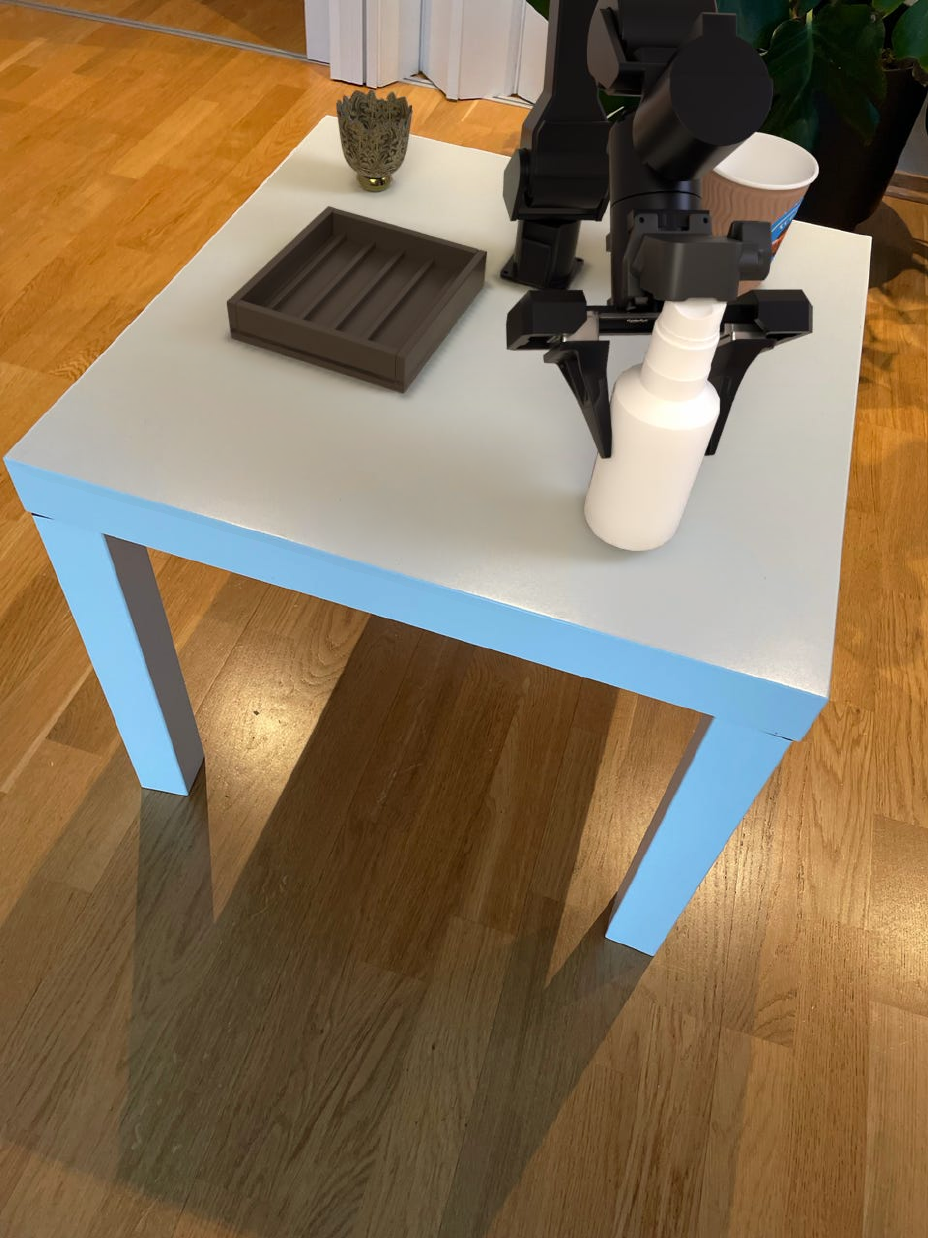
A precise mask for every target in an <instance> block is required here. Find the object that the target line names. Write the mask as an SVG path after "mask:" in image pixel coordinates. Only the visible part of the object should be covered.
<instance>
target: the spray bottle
mask: <svg viewBox="0 0 928 1238" xmlns="http://www.w3.org/2000/svg"><path fill="white" fill-rule="evenodd" d="M726 303H727V301H718V300H716V298H688V299H687V300H686V301H684V302H674V301H665V303H664V306H663V310H662V312H661V314H660V316H659V317H658V319H657V320H656V321H655V325H654V328H653V332H652V335H650V340H649V343H648V346H647V349H646V351H645V352H644V356H643V360H642V362H640V363H636V364H633V365H631V366H630V367H628V368H627V369H625V370H623V371H622V372H620V374H619V376H618V377H617V379H616V380H615V382H614V383H613V387H612V391H611V395H610V398H609V405H610V416H611V427H612V451H611V458H609V459H602V458H601V457H600V454H599V452H598V450H597V452H596V455H595V458H594V459H595V460H594V464H593V468H592V472H591V476H590V479H589V485H588V488H587V491H586V497H585V500H584V506H583V514H584V517H585V520H586V524H587V525H588V527H589V529H590V530H591V531H592V532H593V534H594V535H595V536H597V537H598V538H599V539H601V540H602V541H603V542H604V543H606V544H609V545H611V546H614V547H616V548H618V549H621V550H627V551H632V552H641V551H644V552H645V551H651V550H654V549H657V548H660V547H662V546H663V545H664V544H666V543H667V542H668V541H670V540H671V539H672V538H673V537H674V535H675V533H676V532H677V530H678V527H679V524H680V522H681V520H682V518H683V517H682V516H683V514H684V512H685V509H686V505H687V503H688V500H689V498H690V495H691V492H692V489H693V486H694V484H695V482H696V478H697V476H698V473H699V470H700V467H701V464H702V461H703V459H704V457H705V456H704V454H705V451H706V448H707V446H708V443H709V440H710V437H711V435H712V432H713V429H714V427H715V424H716V421H717V418H718V416H719V412H720V398H719V396H718V394H717V392H716V390H715V388H714V386H713V385H712V384H711V383H710V382H709V381H708V380H707V378H708V375H709V372H710V369H711V362H712V359H713V356H714V353H715V350H716V347H717V344H718V341H719V328H720V323H721V320H722V317H723V314H724V311H725V308H726Z"/></svg>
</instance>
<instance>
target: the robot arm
mask: <svg viewBox="0 0 928 1238" xmlns="http://www.w3.org/2000/svg"><path fill="white" fill-rule="evenodd" d="M717 5H718V4H717V0H549V13H548V24H547V38H546V49H545V50H546V51H545V65H544V76H543V77H544V78H543V87H542V88H543V89H542V91H541V93H540V94H539V96H538V98H537V99H536V101H535V102H534V103H533V106H532V107H531V109H530V111H529V112H528V114H527V115H526V117H525V118H524V120H523V122H522V124H521V129H520V130H521V132H520V141H519V148H515V149H514V151H513V153H512V155H511V157H510V158H509V161H508V163H507V164H506V167H505V168H504V170H503V179H502V183H503V184H502V199H503V202H504V205H505V209H506V212H507V215H508V218H509V221H510V222H517V227H516V236H515V243H514V252H513V253H512V255H511V256H510V257H509V259H508V260H507V262H506V263H505V264H504V266H503V267H502V268H501V269H500V271H499V277H500V279H502V280H505V281H510V282H513V283H515V284H520V285H523V286H526V287H529V288H533V289H528V290H527V292H525V294H524V295H523V296H522V297H521V298H520V299H519V300H518V301H517V302H516V304H514V306H513V307H512V308H510V310H508V312H507V313H506V321H505V337H506V338H505V340H506V341H505V342H506V350H508V351H513V352H514V351H515V352H516V351H517V352H520V351H521V352H522V351H547V352H545V353H544V354H543V355H542V357H543V358H542V359H543V363H544V364H552V365H553V364H554V365H556V366H557V367H558V369H559V371H560V373H561V375H562V377H563V378H564V380H565V382H566V384H567V385H568V387H569V389H570V390H571V392H572V395H573V396H574V398H575V400H576V402H577V404H578V407H579V408H580V411H581V414H582V415H583V418H584V420H585V422H586V425H587V428H588V430H589V433H590V435H591V437H592V440H593V443H594V444H595V447H596V450H597V451H598V452H599V454H600V457H601V458H602V459H609V458H611V451H612V427H611V416H610V405H609V403H610V395H609V394H610V393H609V384H608V383H609V382H608V362H609V361H608V360H609V355H610V354H609V353H610V344H611V340H609V339H600V337H620V336H621V337H623V336H625V337H626V336H627V337H628V336H630V337H631V336H634V337H635V336H637V337H638V336H652V332H653V328H654V325H655V321H656V320H657V319H658V317H659V316H660V314H661V312H662V310H663V306H664V303H665V301H674V302H684V301H686V300H687V299H688V298H716V300H718V301H726V308H725V311H724V314H723V317H722V320H721V323H720V328H719V341H718V344H717V347H716V350H715V353H714V356H713V359H712V362H711V369H710V372H709V375H708V378H707V380H708V381H709V382H710V383H711V384H712V385H713V386H714V388H715V390H716V392H717V394H718V396H719V398H720V412H719V416H718V418H717V421H716V424H715V427H714V429H713V432H712V435H711V437H710V440H709V443H708V446H707V448H706V451H705V454H704V457H711V456H715V454H716V452H717V450H718V447H719V445H720V441H721V438H722V435H723V432H724V430H725V426H726V425H727V421H728V418H729V415H730V413H731V409H732V406H733V404H734V400H735V398H736V395H737V393H738V390H739V388H740V386H741V384H742V382H743V380H744V378H745V375H746V373H747V372H748V370H749V368H750V366H751V365H752V364H753V363H754V361H755V360H756V358H757V357H758V356H759V355H760V354H763V353H766V352H769V351H772V350H774V349H775V347H777V346H780V345H783V344H786V343H788V342H791V341H794V340H797V339H799V338H802V337H805V336H808V335H810V334H813V331H814V306H813V304H812V303H811V301H810V300H809V298H808V296H807V295H806V293H805V292H804V291H803V289H801V288H796V289H795V288H793V289H792V288H791V289H789V288H787V289H785V288H784V289H783V288H782V289H779V288H774V289H772V288H771V289H770V288H769V289H766V288H765V289H764V288H762V289H759V288H757V289H752V290H750V291H748V292H746V293H744V294H742V295H740V296H738V297H737V295H738V288H739V281H762V282H763V281H766V279H767V278H768V276H769V274H770V272H771V264H772V263H771V259H772V230H771V222H767V221H754V220H735V221H733V222H732V223H731V225H730V228H729V231H728V234H727V236H714V235H713V234H712V220H711V217H710V210H702V177H703V176H704V175H706V174H708V173H709V172H711V171H712V170H713V169H714V168H715V167H716V166H717V165H719V164H720V163H721V162H722V161H723V160H724V159H725V158H727V157H728V156H729V155H730V154H731V153H732V152H734V151H735V150H736V149H737V148H738V147H739V146H740V145H742V144H743V143H744V142H745V141H746V140H747V139H748V138H750V137H751V136H752V135H753V134H754V133H755V132H758V130H760V129H761V127H762V125H763V124H764V122H765V121H766V119H767V118H768V116H769V112H770V110H771V108H772V104H773V97H774V81H773V78H772V76H770V74H769V70H768V66H767V64H766V63H765V61H764V59H763V58H762V56H761V53H759V52H758V50H757V49H756V48H755V47H754V46H753V45H752V44H751V43H749V42H748V41H747V40H745V39H743V38H742V37H740V36H738V15H737V14H736V13H734V12H733V13H732V12H731V13H729V12H718V6H717ZM600 91H604V93H605V94H606V95H607V96H614V97H615V96H616V97H618V96H619V97H640V100H639V103H636V104H634V105H632V106H631V107H629V108H627V110H623V112H622V113H621V115H620V116H619V117H618V119H617V120H616V121H615V123H613V122H612V121H609V118H608V116H607V114H606V111H605V108H604V107H603V104H602V102H601V99H600V95H599V94H600ZM608 207H609V232H608V233H607V234H606V235H605V253H610V255H609V256H610V297H609V298H608V299H607V300H606V305H605V304H603V305H600V304H598V305H597V304H594V305H588V301H587V299H586V295H585V293H584V290H583V289H570V287H571V286H572V284H573V282H574V281H575V279H576V278H577V276H578V275H579V273H580V272H581V270H582V269H583V267H584V264H585V263H584V262H585V260H584V259H583V258H581V257H578V256H576V253H577V247H578V242H579V237H580V231H581V225H582V222H583V221H585V222H586V221H589V222H591V221H592V222H593V221H595V222H597V223H599V222H600V223H602V221H603V219H604V216H605V214H606V212H607V211H608Z"/></svg>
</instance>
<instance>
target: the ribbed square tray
mask: <svg viewBox="0 0 928 1238" xmlns="http://www.w3.org/2000/svg"><path fill="white" fill-rule="evenodd" d="M487 258H488V251H487V250H484V249H479V248H476V247H473V246H469V245H466V244H462V243H458V242H455V241H452V240H448V239H445V238H441V237H438V236H434V235H431V234H427V233H425V232H424V233H423V232H420V231H417V230H413V229H409V228H406V227H403V226H399V225H395V224H393V223H389V222H385V221H381V220H378V219H376V218H375V219H374V218H371V217H367V216H364V215H362V214H358V213H354V212H350V211H348V210H343V209H339V208H336V207H333V206H330V205H328V206H327V207H325V208H324V210H322V211H321V212H320V213H319V214H318V215H317V216H316V217H315V218H314V219H313V220H311V222H309V223H308V224H307V225H306V226H305V227H304V228H303V229H302V230H301V231H300V232H298V234H297V235H295V236H294V237H293V239H291V240H290V241H289V242H288V243H287V244H286V245H285V246H284V247H283V248H282V249H280V251H278V253H277V254H275V255H274V257H272V258H271V259H270V260H269V261H268V262H267V263H266V264H265V265H263V267H262V268H260V269H259V270H258V271H257V272H256V273H255V274H254V275H253V276H252V277H251V278H250V279H248V281H246V282H245V284H243V285H242V287H240V288H239V289H238V290H237V291H236V292H235V293H234V294H233V295H232V296H231V297H230V298H229V299H227V300H226V309H227V310H226V311H227V317H228V323H229V331H230V338H231V339H233V340H235V341H239V342H241V343H245V344H248V345H252V346H255V347H257V348H260V349H264V350H267V351H270V352H273V353H277V354H280V355H282V356H286V357H289V358H291V359H294V360H298V361H300V362H305V363H307V364H310V365H313V366H317V367H320V368H323V369H326V370H330V371H333V372H335V373H339V374H341V375H345V376H348V377H351V378H354V379H357V380H361V381H364V382H367V383H370V384H373V385H376V386H379V387H382V388H385V389H389V390H392V391H393V392H394V391H395V392H398V393H401V394H405V393H406V391H407V390H408V388H409V387H410V386H411V384H412V383H413V382H414V381H415V379H416V378H417V376H418V375H419V373H421V371H422V370H423V368H424V367H425V365H426V364H427V363H428V361H430V359H431V357H432V356H433V355H434V353H436V351H437V349H439V347H440V345H441V344H442V343H443V341H444V340H445V339H446V338H447V336H448V335H449V334H450V332H452V330H453V328H454V327H455V325H456V324H457V323H458V322H459V320H460V318H461V317H462V316H463V315H464V314H465V312H466V311H467V309H468V308H469V307H470V306H471V304H472V303H473V302H474V300H475V299H476V297H477V296H478V295H479V293H480V292H481V291H482V289H483V288H484V287H485V278H486V277H485V276H486V266H487Z"/></svg>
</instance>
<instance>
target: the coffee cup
mask: <svg viewBox="0 0 928 1238" xmlns="http://www.w3.org/2000/svg"><path fill="white" fill-rule="evenodd" d="M819 173H820V171H819V164H818V162H817V159H816V158H815V157H814V156H813V155H812V154H811V153H810V152H809V151H808V150H806V149H805V148H803V147H801V146H800V145H799V144H796V143H794V142H792V141H790V140H787V139H784V138H783V137H779V136H776V135H772V134H768V133H764V132H758V131H756V132H755V133H754V134H753V135H752V136H751V137H750V138H748V139H747V140H746V141H745V142H744V143H743V144H742V145H740V146H739V147H738V148H737V149H736V150H735V151H734V152H732V153H731V154H730V155H729V156H728V157H727V158H725V159H724V160H723V161H722V162H721V163H720V164H719V165H717V166H716V167H715V168H714V169H713V170H712V171H711V172H709V173H708V174H706V175H704V176H703V177H702V210H710V217H711V220H712V234H713V235H714V236H727V234H728V231H729V228H730V225H731V223H732V222H733V221H735V220H754V221H767V222H771V230H772V259H771V264H772V263H773V261H774V258H775V257H776V254H777V252H778V251H779V249H780V246H781V245H782V242H783V240H784V239H785V236H786V235H787V232H788V230H789V228H790V226H791V224H792V223H793V220H794V218H795V216H796V214H797V212H798V210H799V208H800V205H801V203H802V202H803V200H804V196H805V195H806V193H807V191H808V189H809V188H810V185H811V183H813V182H814V181H815V179H817V177H818V175H819ZM762 282H763V281H739V288H738V295H737V297H738V296H740V295H742V294H744V293H746V292H748V291H750V290H752V289H759V286H760V285H761V283H762Z"/></svg>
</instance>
